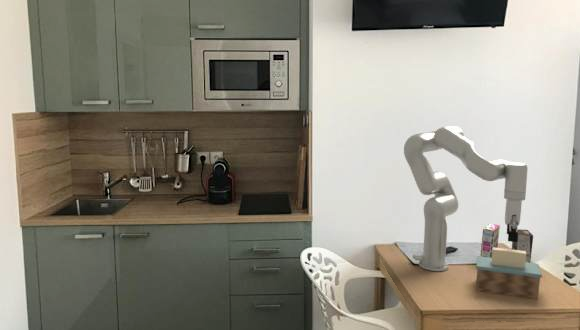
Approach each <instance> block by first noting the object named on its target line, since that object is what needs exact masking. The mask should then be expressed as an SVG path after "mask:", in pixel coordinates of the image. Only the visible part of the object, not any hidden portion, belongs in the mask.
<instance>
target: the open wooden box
mask: <svg viewBox="0 0 580 330" xmlns="http://www.w3.org/2000/svg"><path fill="white" fill-rule="evenodd" d="M540 280H541V278H540V277H532V276H525V275H517V274H510V273H502V272H495V271H487V270H480V269H477V268H476V281H475V282H476V284H475V291H477V292H485V293H492V294H498V295H499V294H500V295H505V296H510V297H511V296H512V297H518V298H526V299H531V300H532V299H533V300H539V293H540V292H539V291H540V283H541V281H540Z"/></svg>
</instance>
